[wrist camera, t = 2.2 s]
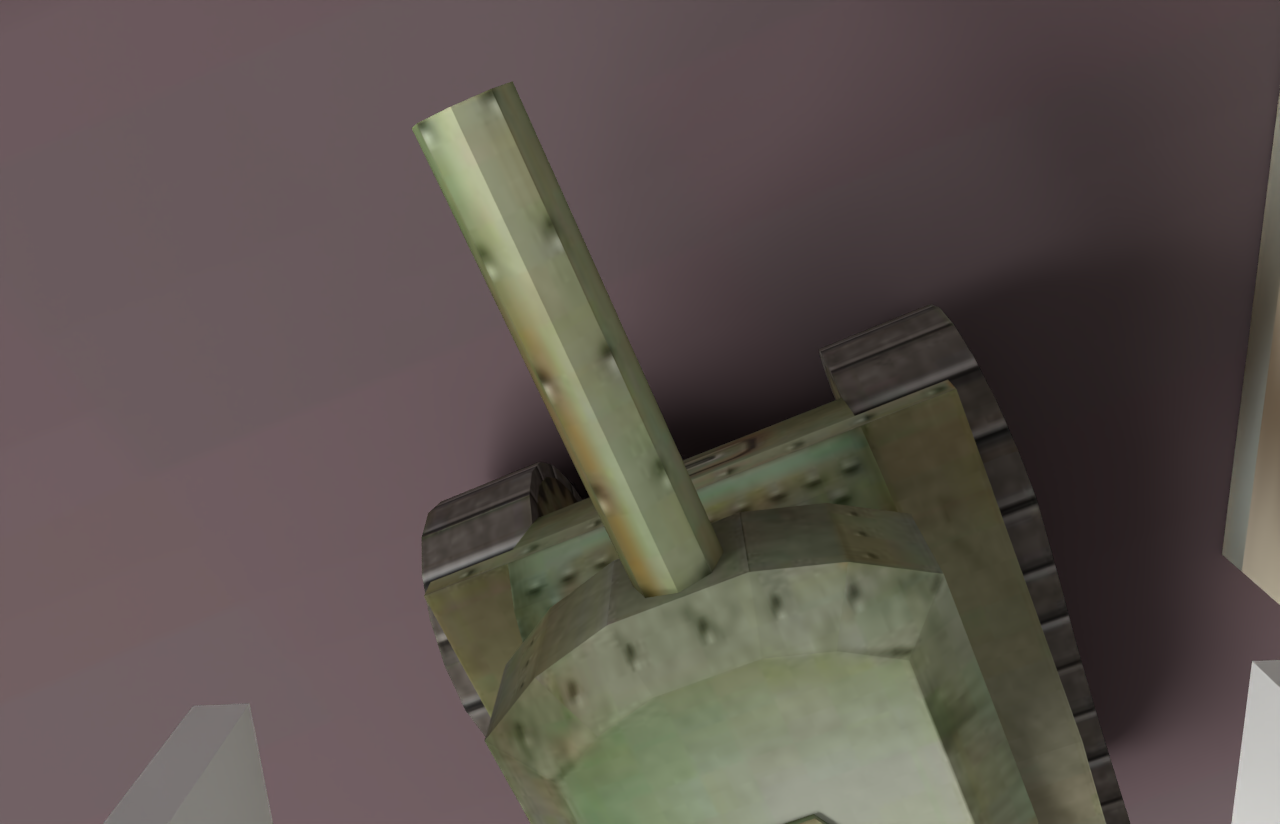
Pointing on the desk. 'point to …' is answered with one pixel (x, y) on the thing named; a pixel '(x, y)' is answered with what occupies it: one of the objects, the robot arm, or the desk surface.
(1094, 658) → the desk surface
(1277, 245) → the beige tray
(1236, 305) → the desk surface
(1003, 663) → the toy
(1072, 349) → the desk surface
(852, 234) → the desk surface
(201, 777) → the robot arm
